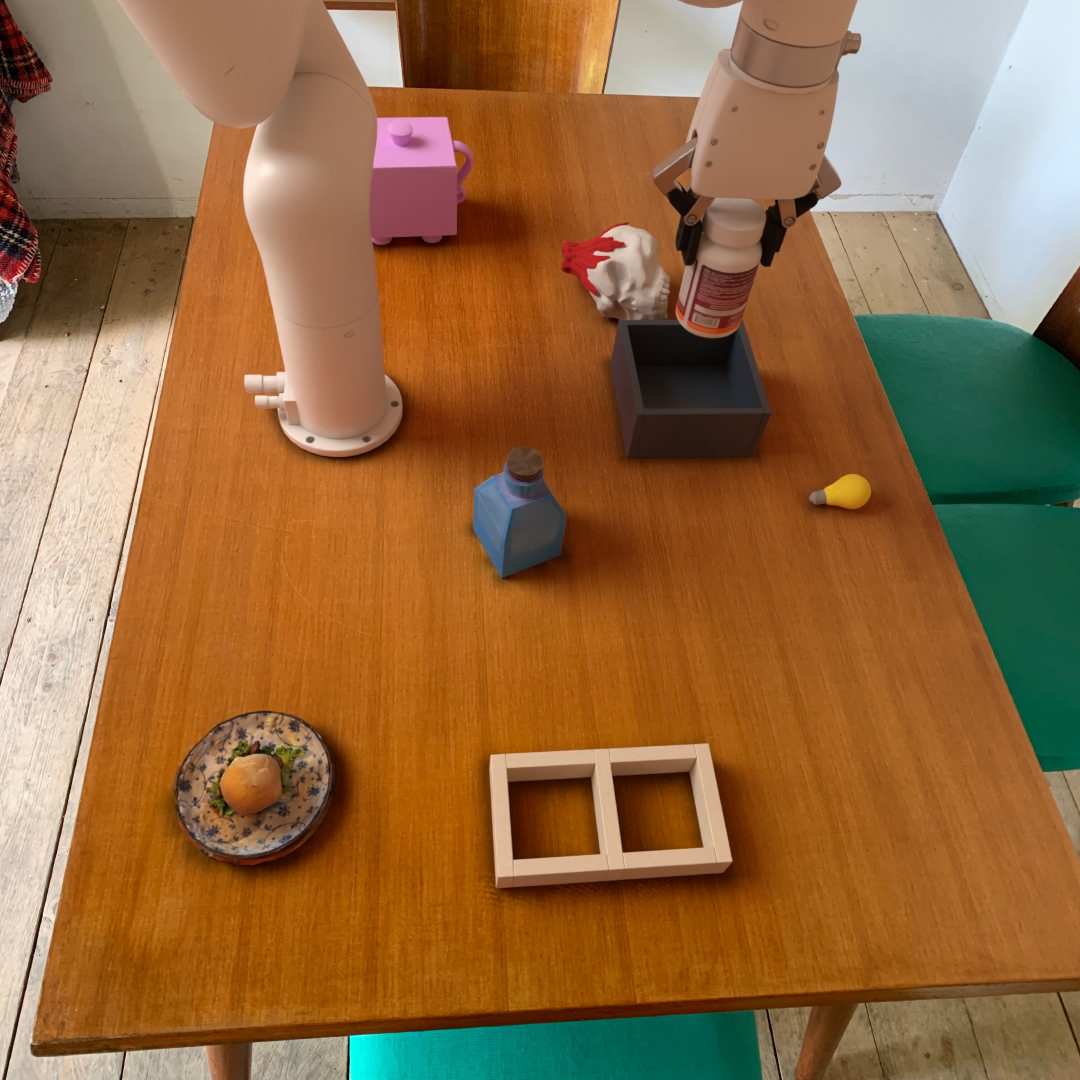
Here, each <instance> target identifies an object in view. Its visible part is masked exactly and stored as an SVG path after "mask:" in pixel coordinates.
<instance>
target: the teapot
mask: <svg viewBox="0 0 1080 1080" xmlns="http://www.w3.org/2000/svg"><path fill="white" fill-rule="evenodd" d="M377 123H378V129H377V142H376V149H375V156H374V162H373V164H374V165H373V174H372V180H371V189H370V208H369V217H370V231H371V238H372V243H373V244H376V245H380V246H383V245H388V244H389V243H390V242H391V241H392V240H393V238H406V237H421V239H422V240H423V241H424V242H426V243H428V244H429V243H430V244H435V243H439V242H440V241H441V240H442V238H443V236H457V235H458V204H460V203H463V202H464V200H465V199H466V196H467V191H466V188H465V186H463V185H462V183H463V182H464V181H465V180H466V178H467V177H468V176H469V174H470V173H471V171H472V169H473V167H474V161H475V160H474V155H473V152H472V150H471V149H470V148H469V146H468V145H467V144H465V143H463V142H462V141H459V140H454V139H452V133H451V128H450V123H449V118H448V117H447V116H427V117H426V116H422V117H421V116H420V117H419V116H418V117H417V116H415V117H414V116H413V117H412V116H411V117H410V116H409V117H408V116H407V117H377ZM455 152H457V153H459V154H462V155H463V156H464V157H465V161H464V163H463V164H462V166H461V168H460V169H459V170H458V164H457V158H456V153H455ZM458 192H459V193H458Z"/></svg>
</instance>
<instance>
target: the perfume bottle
mask: <svg viewBox="0 0 1080 1080" xmlns="http://www.w3.org/2000/svg"><path fill="white" fill-rule="evenodd" d="M543 465H544V458H543V456H542V454H541V453H540V452H539V450H536V449H535V448H533V447H529V446H518V447H516V448H513V449H511V450H510V451H509V452H508V453H507V455H506V457H505V463H504V465H503V472H500V473H497V474H494V475H491V476H490V477H489V478H487V479H486V480H485V481H483V482H482V483H480V484H479V485H478V486H476V487H475V488H473V489H474V493H473V519H472V520H473V521H472V523H473V524H472V530H473V531H474V533H475V535H476V536H477V538H478V540H479V542H480V544H481V546H482V547H483V549H484V551H485V553H486V554H487V556H488V558H489V559H490V561H491V563H492V564H493V566H494V568H495V570H496V571H497V573H498V575H499V576H500V578H501V579H504V578H506V577H509V576H511V575H514V574H516V573H519V572H522V571H525V570H527V569H530V568H533V567H534V566H537V565H539V564H543V563H545V562H548V561H550V560H553V559H555V558H558V557H560V556H561V554H562V547H563V541H564V535H565V529H566V524H567V518H568V516H567V514H566V513H565V511H564V510H563V508H562V507H561V505H560V504H559V502H558V500H557V498H556V497H555V496H554V494H553V492H552V491H551V489H550V488H549V486H548V484H547V483H546V482H545V480H544V472H545V471H544V466H543Z"/></svg>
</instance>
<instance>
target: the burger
mask: <svg viewBox="0 0 1080 1080" xmlns="http://www.w3.org/2000/svg"><path fill="white" fill-rule="evenodd" d="M335 786H336V775H335V765H334V762H333V759H332V756H331V753H330V751H329V750H328V748H327V746H326V744H325V743H324V740H323V738H322V737H321V735H320V733H318V732H317V731H316V730H315V729H314V727H313V726H312V725H311V724H310V723H308V722H307V721H306V720H305V719H303V718H301V717H299V716H297V715H294V714H292V713H288V712H281V711H275V710H257V711H250V712H245V713H243V714H238V715H235V716H233V717H231V718H227V719H225V720H223V721H221V722H219V723H217V724H216V725H215V726H213V727H212V729H210V730H209V731H208V733H206V734H205V735H204V736H203V737H202V738H201V739H200V740H199V741H198V742H197V743H196V744H195V745H193V746H192V748H190V749H189V750H188V753H187V755H186V756H185V758H184V759H183V760H182V762H180V763H179V765H178V767H177V770H176V772H175V775H174V778H173V784H172V791H173V794H174V797H175V805H174V809H175V812H176V813H177V815H178V818H177V820H178V823H179V827H180V829H181V831H182V832H183V833H184V835H185V836H186V837H187V839H188V840H189V841H190V842H191V844H192V845H193V846H194V848H196V849H197V850H198V851H200V852H202V853H203V854H204V855H206V856H207V857H211V858H213V859H216V860H218V861H219V862H227V863H232V864H234V865H237V866H255V865H258V864H262V863H263V862H272V861H275V860H277V859H280V858H283V857H286V856H287V855H288V854H290V853H292V852H293V851H295V850H296V849H298V848H300V847H301V846H302V845H303V844H305V842H306V841H308V840H309V839H310V838H311V837H312V836H313V835H314V834H315V832H316V831H317V829H319V827H320V826H321V825H322V823H323V822H324V820H325V818H326V815H328V812H329V810H330V807H331V804H332V801H333V798H334V794H335Z"/></svg>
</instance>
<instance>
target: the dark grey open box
mask: <svg viewBox="0 0 1080 1080" xmlns="http://www.w3.org/2000/svg"><path fill="white" fill-rule="evenodd" d="M754 354H755V353H754V351H753V347H752V346H751V341H750V338H749V335H748V331H747V329H746V325H745V322H744V320H743V319H742V320H741V323H740V325H739V327H738V328H737V330H736V331H735V332H733V333H732V334H730V335H728V336H725V337H720V338H707V337H701V336H698V335H695V334H693V333H691V332H689V331H688V330H686V329H685V328H684V327H683V326H682V325H681V324H680V322H679V321H678V319H666V320H620V319H618V323H617V327H616V333H615V339H614V343H613V349H612V353H611V359H610V363H609V367H610V370H611V371H610V372H611V377H612V384H613V389H614V395H615V399H616V404H617V405H616V406H617V410H618V416H619V422H620V427H621V432H622V438H623V443H624V449H625V454H626V458H627V459H652V458H653V459H662V458H663V459H665V458H667V459H668V458H669V459H670V458H727V457H728V458H729V457H730V458H731V457H732V458H734V457H736V458H737V457H755V456H756V453H757V450H758V448H759V446H760V444H761V441H762V438H763V436H764V433H765V432H766V429H767V427H768V424H769V421H770V419H771V417H772V414H773V412H772V409H771V405H770V402H769V399H768V396H767V393H766V390H765V387H764V382H763V380H762V377H761V374H760V369H759V368H758V364H757V360H756V358H755V355H754Z"/></svg>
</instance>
